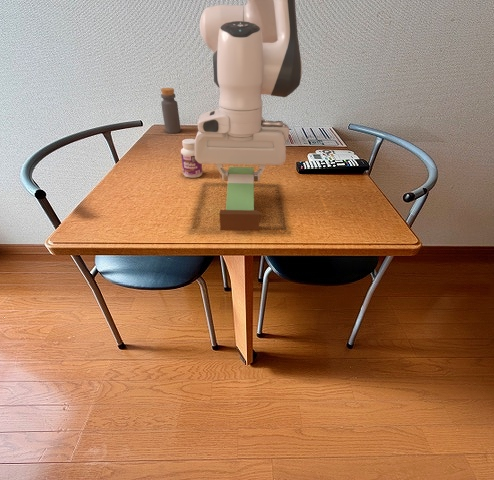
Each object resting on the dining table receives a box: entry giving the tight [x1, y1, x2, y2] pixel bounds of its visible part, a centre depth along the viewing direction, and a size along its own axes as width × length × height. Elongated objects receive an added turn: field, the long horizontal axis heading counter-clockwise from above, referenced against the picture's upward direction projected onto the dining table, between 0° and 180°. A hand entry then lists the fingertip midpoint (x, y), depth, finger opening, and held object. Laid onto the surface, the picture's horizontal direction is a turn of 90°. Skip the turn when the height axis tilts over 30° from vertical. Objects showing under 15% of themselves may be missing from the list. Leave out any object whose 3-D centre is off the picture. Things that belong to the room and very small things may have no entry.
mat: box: [192, 182, 287, 232], centre depth 68 cm, size 22×20×5 cm
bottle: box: [160, 87, 182, 134], centre depth 109 cm, size 6×6×15 cm
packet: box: [225, 166, 255, 210], centre depth 66 cm, size 2×6×14 cm
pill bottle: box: [180, 138, 203, 179], centre depth 79 cm, size 5×5×10 cm
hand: (240, 180), depth 68 cm, fingers closed on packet, 6 cm apart
